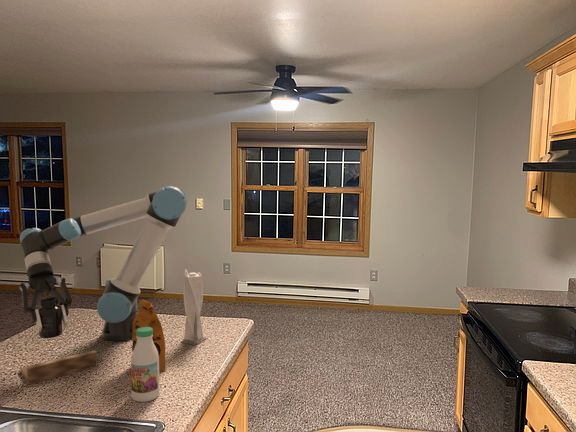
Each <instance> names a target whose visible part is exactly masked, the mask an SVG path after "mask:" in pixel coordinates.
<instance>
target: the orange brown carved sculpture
mask: <svg viewBox="0 0 576 432" xmlns="http://www.w3.org/2000/svg"><path fill="white" fill-rule="evenodd" d="M138 304H139V305H140V307H139V310H138V311H137V315H136V317H135V319H134V321H133V338H132V339H131V340H132V346H131V352H132V353H133V350H134V348H135V346H136V343H137V338H136V330H137V329H138V328H141V327H151V328H152V329H153V336H152V340H153V343H154V345H155V347H156V349H157V351H158V356H159V373H161V372H164V371H166V362H167V361H166V340H165V335H164V330H163V327H162V326H163V325H162V323H161V321H160V319H159V316H158V315H157V313H156V311H155V307H154V306H153V303H152V302H150V301H148V300H145V299H141V300H140V301H139V303H138ZM132 353H131V354H132Z"/></svg>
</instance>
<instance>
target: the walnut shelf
mask: <svg viewBox="0 0 576 432" xmlns="http://www.w3.org/2000/svg"><path fill="white" fill-rule="evenodd" d="M97 363H98V361H97V351H96V350H90V351H87V352H86V351H85V352H80V353H77V354H72V355H67V356H64V357H59V358H54V359H51V360H48V361H43V362H39V363H35V364H31V365H27V366H21V367H20V369H19V370H20V373H21V374H22V376H23V378H24V379H25V381H26V382H27V384H28V385H33V384H35V383H36V384H37V383H39V382H43V381H47V380H51V379H55V378H58V377H59V378H60V377H61V376H66V375H70V374H73V373H78V372H81V371H85V370H89V369H93V368H97V367H98V365H97Z"/></svg>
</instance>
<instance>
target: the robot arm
mask: <svg viewBox="0 0 576 432" xmlns="http://www.w3.org/2000/svg"><path fill="white" fill-rule="evenodd" d="M187 201H188V200H187V197H186V194H185V192H184V191H183V190H182V189H181V188H180V187H178V186H175V185H166V186H163V187H161V188H159V189H158V190H156V191H154V192H151V193H147V195H146V196H145V197H143V198H140V199H136V200H132V201H128V202H125V203H123V204H122V203H121V204H117V205H114V206H111V207H107V208H104V209H100V210H97V211H95V212H90V213H87V214H83V215H81V216H76V217H73V218H71V217H69V218H67V219H64V220H60V221H59V222H57V223H55V224H53V225H51V226H48V227H46V228H45V229H41V228H38V227H32V228H26V229H25V230H23V231H22V232H21V233H20V234H19V241H20V243H19V245H20V248H21V251H22V256H23V260H24V263H25V268H26V269H25V270H26V273H27V278H28V282H26V283H23V282H22V283H20V285H19V291H20V293H21V298H22V299H21V301H22V312H23V314H27V313H28V314H29V315H30V319H31V321H32V323H36V329H37V333H39V332H40V331H41V329H42V324H41V320H40V315H39V311H38V310H39V308H37V309H36V307H37V302H38V298H39V294H42V293H49V294H50V295H51V297H56V298H58V306H60V307H61V309H62V326H63V328H65V327H67V326H68V323H69V321H68V316H69V312H70V311H69V309H68V308H69V307H70V306H71V305H72V303H73V298H72V297H71V294H70V292H69V289H68V286H67V285H66V284H67V283H66V278H65V277H62V278H61V279H60V278H59V279H58V278H57V277H56V276H55V274H54V271H53V267H52V263H51V257H50V254H49V251H51V250H54V249H55V248H58V247H60V246H62V245H65V244H66V243H69V242H71V241H72V242H73V241H74V240H76V239H78V238H80V237H81V238H82V237H83V236H86V235H90V234H94V233H96V232H99V231H104V230H107V229H110V228H114V227H117V226H121V225H124V224H128V223H130V222H135V221H140V220H141V219H142V220H143V219H145V218H146V221H145V223H144V225H143V227H142V229H141V231H140V233H139V235H138V236H137V238H136V240H135V242H134V244H133V246H132V248H131V249H130V252H129V253H128V255H127V256H126V259H125V261H124V263H123V265H122V267H121V269H120V270H119V272H118V274H117V276H115V277H113V278H108V279H106V280H105V284H104V287H105V288H104V292H103V293H102V294H101V295H102V296H101V297H99V299H98V301H97V304H96V310H97V314H98V316H99V317H100V319H101V320H103V321H104V323H103V327H102V329H101V336H102V337H101V338H103V339H104V340H106V341H113V342H118V341H119V342H121V341H128V340H132V338H133V321H134V319H135V317H136V315H137V313H138V298H139V297H140V294H141V289H140V286H141V283H142V281H143V279H144V278H145V276H146V274H147V273H148V270H149V268H150V267H151V264H152V263H153V261H154V259H155V257H156V255H157V253H158V251H159V249H160V247H161V246H162V244H163V242H164V240H165V238H166V236H167V233H168V232H169V231H170V230H171V229H175V228H176V226H177V224H178V222H179V221H180V218H181V217H182V214H184V212H185V210H186V209H187ZM56 284H57V285H58V287H59V288H60V291H61V293H60V292H59V291H58V289H57V286H56ZM29 288H30V289H32V291H34V293H33V298H32V302H31V306H29V298H28V297H29V296H28V289H29ZM61 294H62V295H61Z"/></svg>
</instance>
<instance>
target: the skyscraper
mask: <svg viewBox="0 0 576 432" xmlns="http://www.w3.org/2000/svg"><path fill="white" fill-rule="evenodd" d="M203 286H204V285H203V276H202V273H201V272H200V271H198V272H188V269H187V268H184V280H183V295H182V296H183V305H184V311H185V316H186V317H185V318H186V319H185V325H184V326H185V327H184V335H183V339H182V340H180V342H181V343H183V344H187V345H188V344H189V345H194V346H198V345H200V344H201V343H202V342H204V341H206V340H207V337H204V333H203V326H202V324H203V323H202V320H201V312H202V306H203V300H204V287H203Z"/></svg>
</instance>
